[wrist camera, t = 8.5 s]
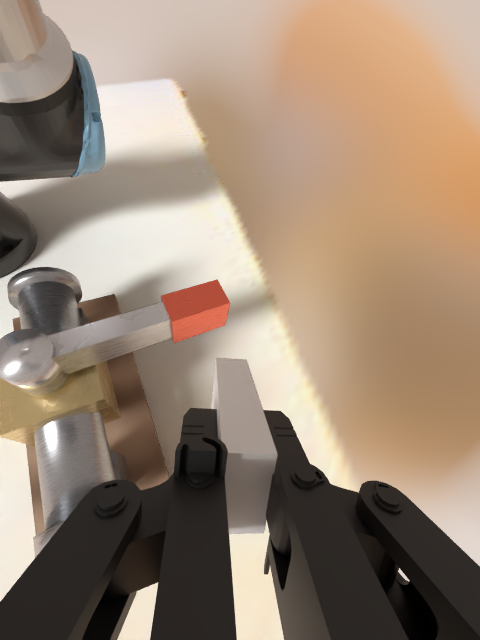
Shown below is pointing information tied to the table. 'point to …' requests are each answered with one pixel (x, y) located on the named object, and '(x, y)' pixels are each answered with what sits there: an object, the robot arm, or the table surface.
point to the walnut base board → (124, 433)
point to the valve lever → (108, 338)
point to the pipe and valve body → (61, 404)
